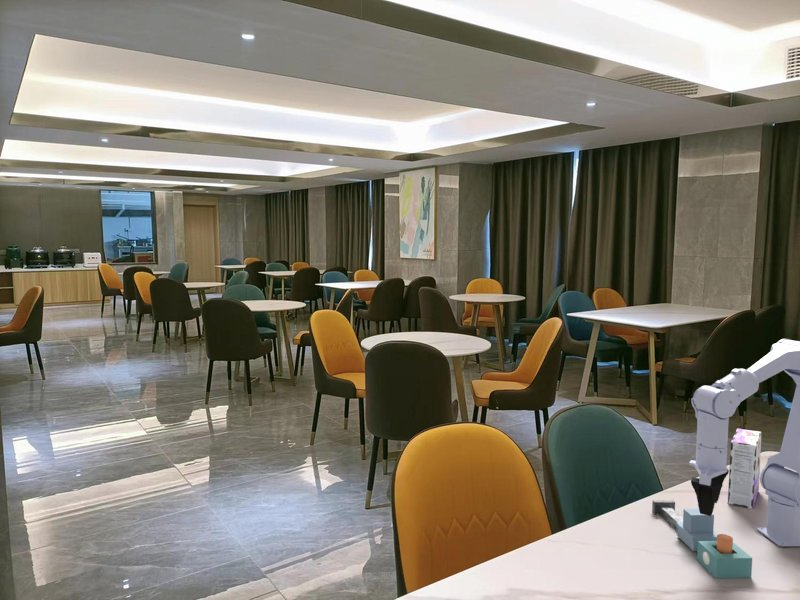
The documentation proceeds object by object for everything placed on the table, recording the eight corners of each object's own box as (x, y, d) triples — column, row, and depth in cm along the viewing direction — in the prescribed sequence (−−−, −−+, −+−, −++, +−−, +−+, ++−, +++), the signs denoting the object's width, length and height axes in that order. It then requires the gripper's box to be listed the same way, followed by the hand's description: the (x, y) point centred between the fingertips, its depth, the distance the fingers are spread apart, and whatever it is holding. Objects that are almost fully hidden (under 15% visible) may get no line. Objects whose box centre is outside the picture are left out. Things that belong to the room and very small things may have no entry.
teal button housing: (730, 559, 124) (731, 540, 124) (751, 577, 118) (752, 557, 117) (696, 559, 124) (697, 541, 124) (715, 578, 117) (716, 558, 117)
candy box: (734, 486, 163) (737, 427, 162) (759, 492, 160) (762, 431, 158) (726, 504, 152) (729, 440, 150) (753, 510, 148) (757, 444, 147)
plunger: (726, 552, 122) (727, 533, 122) (735, 560, 119) (735, 540, 119) (713, 553, 122) (714, 534, 122) (721, 560, 119) (722, 540, 119)
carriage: (702, 535, 134) (703, 504, 134) (719, 550, 127) (721, 518, 127) (675, 535, 134) (677, 505, 134) (692, 551, 127) (693, 519, 127)
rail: (672, 511, 147) (672, 500, 147) (721, 555, 126) (722, 541, 126) (652, 512, 147) (652, 500, 147) (698, 556, 126) (698, 542, 126)
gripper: (696, 432, 133) (694, 492, 134) (684, 450, 121) (681, 515, 122) (732, 438, 129) (729, 499, 130) (723, 457, 117) (720, 524, 118)
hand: (708, 507), depth 126 cm, fingers open, 7 cm apart
